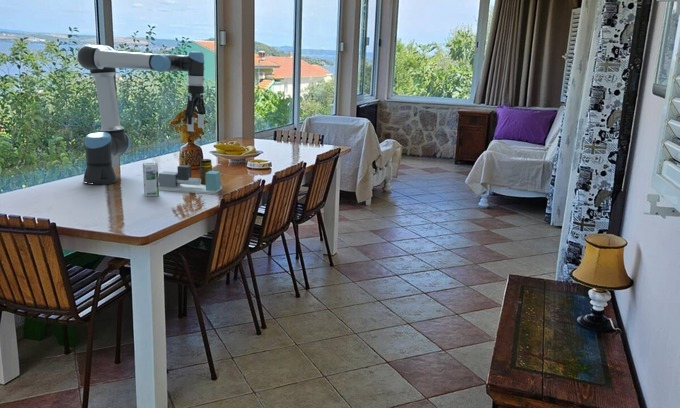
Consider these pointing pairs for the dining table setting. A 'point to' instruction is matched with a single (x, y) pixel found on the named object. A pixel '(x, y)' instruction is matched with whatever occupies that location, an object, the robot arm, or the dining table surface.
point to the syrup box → (151, 179)
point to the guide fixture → (169, 184)
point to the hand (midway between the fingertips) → (195, 129)
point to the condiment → (204, 169)
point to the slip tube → (186, 176)
